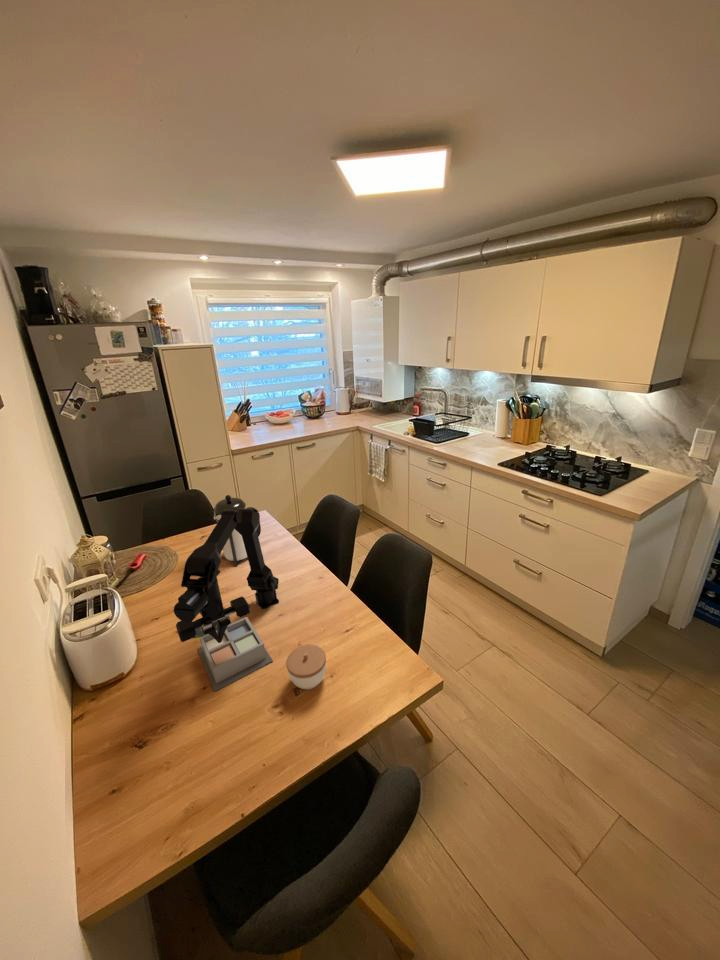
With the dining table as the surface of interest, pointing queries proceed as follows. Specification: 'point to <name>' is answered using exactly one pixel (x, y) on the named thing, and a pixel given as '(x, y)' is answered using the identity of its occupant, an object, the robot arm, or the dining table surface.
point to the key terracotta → (222, 655)
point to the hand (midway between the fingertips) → (219, 641)
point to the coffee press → (235, 543)
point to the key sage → (246, 643)
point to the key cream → (214, 643)
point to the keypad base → (237, 664)
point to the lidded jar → (306, 666)
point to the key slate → (238, 631)
